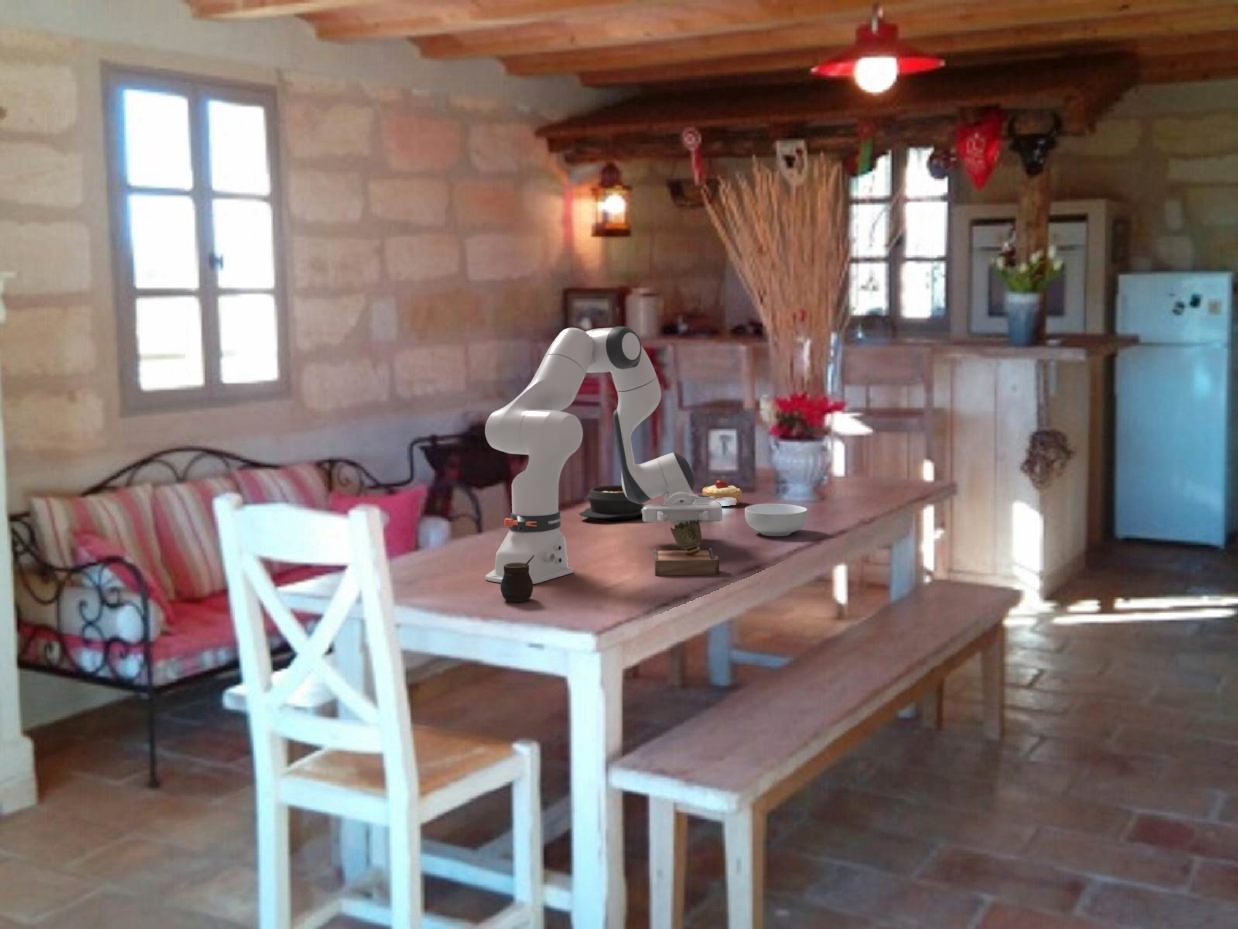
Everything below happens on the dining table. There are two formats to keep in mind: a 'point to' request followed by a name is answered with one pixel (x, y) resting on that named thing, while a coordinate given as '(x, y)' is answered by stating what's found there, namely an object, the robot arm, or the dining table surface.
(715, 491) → the pastry
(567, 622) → the dining table surface
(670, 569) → the brown wooden tray
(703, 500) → the robot arm
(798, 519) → the cereal bowl
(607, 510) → the casserole
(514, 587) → the mate gourd
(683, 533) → the cup
